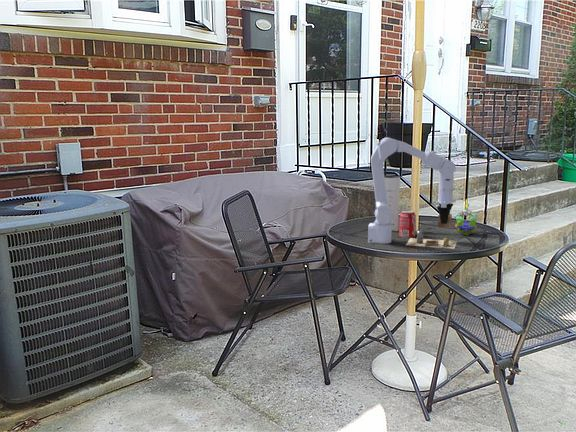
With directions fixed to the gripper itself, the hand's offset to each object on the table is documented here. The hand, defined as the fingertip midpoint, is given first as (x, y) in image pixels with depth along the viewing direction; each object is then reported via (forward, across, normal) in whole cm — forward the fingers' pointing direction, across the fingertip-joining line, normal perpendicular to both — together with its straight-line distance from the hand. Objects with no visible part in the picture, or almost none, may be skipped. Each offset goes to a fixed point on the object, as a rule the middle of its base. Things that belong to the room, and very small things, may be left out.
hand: (444, 222), depth 213 cm
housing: (+2, 0, 0) cm, 2 cm away
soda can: (+10, +6, +16) cm, 20 cm away
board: (+9, -4, +4) cm, 11 cm away
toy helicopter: (+10, +20, -8) cm, 23 cm away
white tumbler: (+10, +18, +27) cm, 34 cm away
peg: (+8, -6, +9) cm, 13 cm away
